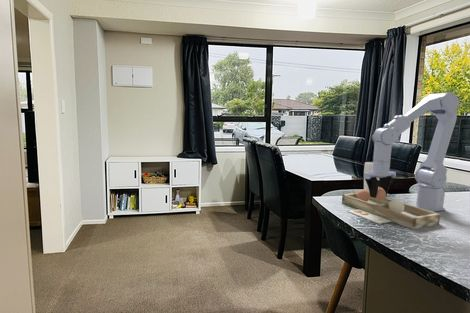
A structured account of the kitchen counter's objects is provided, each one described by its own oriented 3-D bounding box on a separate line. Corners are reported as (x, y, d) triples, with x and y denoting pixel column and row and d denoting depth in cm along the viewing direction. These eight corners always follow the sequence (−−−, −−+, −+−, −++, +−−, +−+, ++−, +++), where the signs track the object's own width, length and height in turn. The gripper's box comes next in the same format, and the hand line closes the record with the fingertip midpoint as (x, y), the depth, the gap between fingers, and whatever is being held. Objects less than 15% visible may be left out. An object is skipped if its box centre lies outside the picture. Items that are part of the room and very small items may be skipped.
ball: (362, 199, 131) (363, 187, 130) (372, 203, 127) (373, 190, 126) (353, 200, 129) (354, 188, 128) (363, 204, 125) (364, 191, 124)
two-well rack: (365, 200, 135) (366, 191, 134) (439, 224, 107) (440, 214, 107) (341, 202, 129) (342, 194, 129) (413, 229, 102) (414, 218, 101)
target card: (359, 209, 121) (359, 208, 120) (391, 221, 108) (391, 220, 108) (347, 211, 118) (347, 210, 118) (378, 223, 105) (379, 222, 105)
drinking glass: (380, 200, 135) (383, 165, 133) (363, 198, 137) (366, 163, 135) (376, 196, 142) (379, 162, 140) (360, 194, 143) (363, 161, 141)
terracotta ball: (377, 197, 125) (378, 185, 124) (388, 201, 120) (389, 188, 119) (367, 199, 122) (368, 186, 122) (378, 202, 118) (379, 189, 117)
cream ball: (394, 210, 118) (395, 197, 117) (406, 214, 113) (408, 200, 113) (384, 211, 116) (386, 198, 115) (397, 216, 111) (398, 202, 111)
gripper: (386, 158, 126) (382, 192, 128) (358, 159, 120) (355, 195, 122) (402, 161, 120) (398, 197, 121) (374, 162, 113) (370, 200, 115)
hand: (378, 196), depth 121 cm, fingers closed on terracotta ball, 5 cm apart
